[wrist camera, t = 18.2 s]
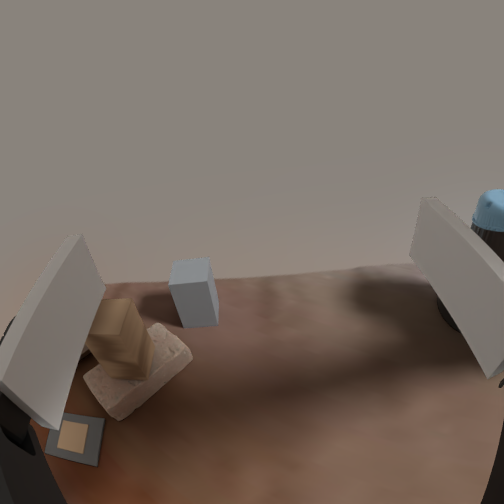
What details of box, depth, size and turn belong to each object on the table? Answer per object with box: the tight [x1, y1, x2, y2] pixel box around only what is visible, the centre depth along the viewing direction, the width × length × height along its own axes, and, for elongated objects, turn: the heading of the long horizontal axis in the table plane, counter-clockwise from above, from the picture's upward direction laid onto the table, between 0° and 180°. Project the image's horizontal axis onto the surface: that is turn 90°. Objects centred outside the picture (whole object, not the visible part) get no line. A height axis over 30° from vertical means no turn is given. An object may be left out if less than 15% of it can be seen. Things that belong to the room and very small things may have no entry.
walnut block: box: [85, 298, 155, 380], centre depth 36 cm, size 6×6×10 cm
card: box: [44, 412, 105, 467], centre depth 31 cm, size 10×8×1 cm
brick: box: [83, 322, 193, 421], centre depth 40 cm, size 16×8×5 cm, turn 141°
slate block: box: [168, 257, 219, 328], centre depth 49 cm, size 6×6×10 cm
